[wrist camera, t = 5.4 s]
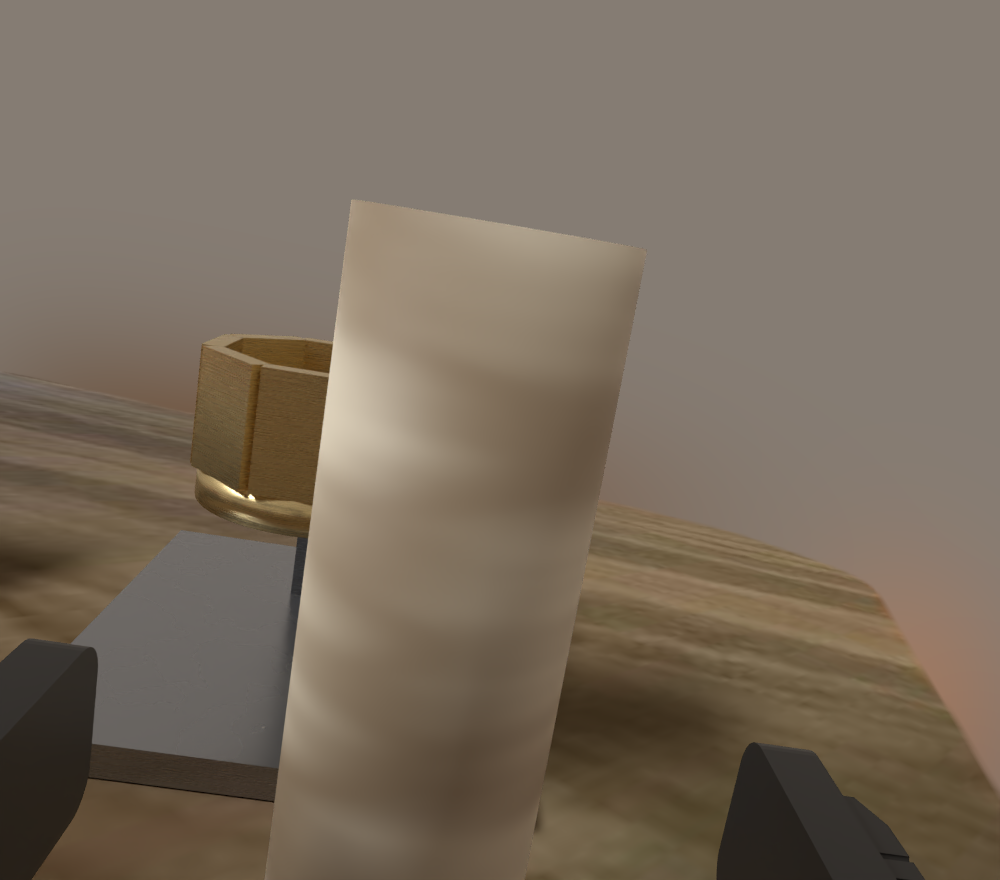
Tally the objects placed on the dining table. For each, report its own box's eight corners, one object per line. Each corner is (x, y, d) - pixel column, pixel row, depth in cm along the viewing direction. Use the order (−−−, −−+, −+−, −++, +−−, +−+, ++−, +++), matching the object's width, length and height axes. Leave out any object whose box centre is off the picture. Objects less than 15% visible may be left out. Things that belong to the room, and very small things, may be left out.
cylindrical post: (172, 1200, 15) (286, 188, 12) (328, 1036, 19) (451, 218, 15) (372, 1366, 14) (574, 235, 10) (503, 1150, 17) (685, 257, 14)
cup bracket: (502, 830, 26) (577, 427, 24) (-16, 763, 25) (8, 338, 23) (491, 596, 43) (535, 346, 40) (179, 551, 42) (204, 292, 39)
